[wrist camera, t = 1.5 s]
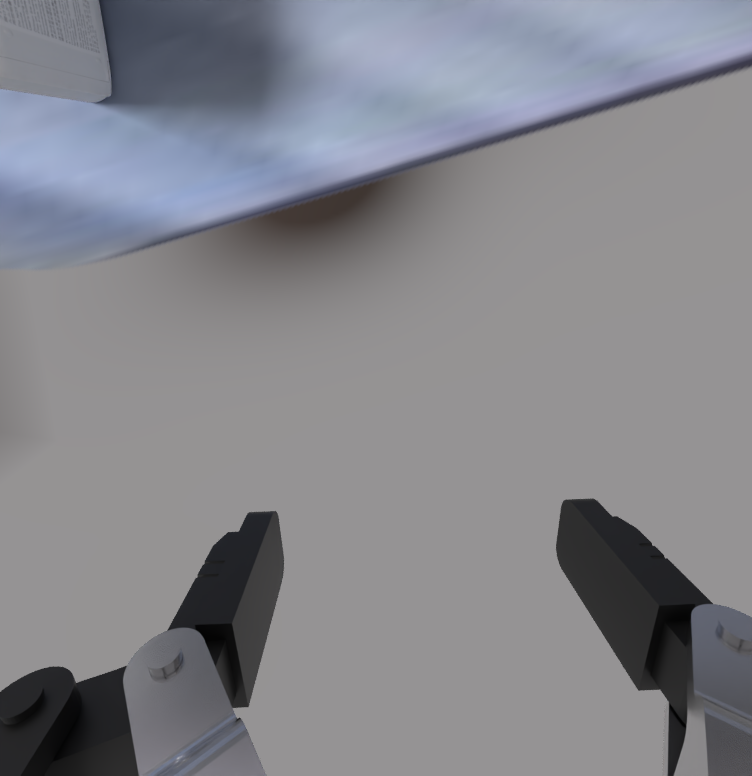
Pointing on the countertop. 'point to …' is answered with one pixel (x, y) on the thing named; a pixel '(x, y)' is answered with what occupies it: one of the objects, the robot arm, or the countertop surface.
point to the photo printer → (54, 49)
